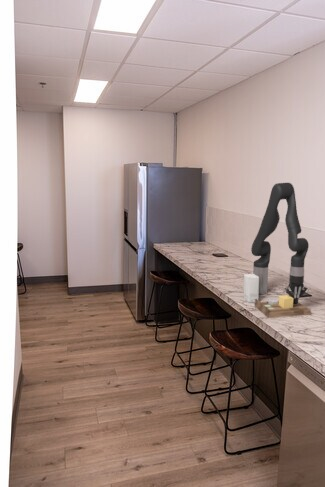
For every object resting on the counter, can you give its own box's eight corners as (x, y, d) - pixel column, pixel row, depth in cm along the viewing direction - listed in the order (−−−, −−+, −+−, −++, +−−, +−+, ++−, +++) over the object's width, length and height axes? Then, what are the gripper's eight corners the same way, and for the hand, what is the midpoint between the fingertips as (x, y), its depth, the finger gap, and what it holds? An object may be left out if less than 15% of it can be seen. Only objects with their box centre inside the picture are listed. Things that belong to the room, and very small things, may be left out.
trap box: (254, 306, 216) (255, 298, 215) (294, 304, 220) (295, 296, 219) (267, 317, 200) (268, 309, 199) (310, 314, 204) (311, 306, 203)
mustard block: (278, 304, 211) (279, 295, 210) (287, 304, 213) (288, 295, 211) (283, 308, 206) (284, 298, 205) (292, 307, 207) (293, 298, 206)
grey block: (267, 306, 216) (268, 299, 216) (274, 306, 217) (274, 299, 217) (271, 309, 213) (272, 302, 212) (277, 308, 214) (278, 301, 213)
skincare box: (258, 302, 223) (259, 277, 220) (247, 302, 222) (249, 277, 219) (252, 297, 231) (254, 273, 228) (242, 298, 230) (243, 273, 227)
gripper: (304, 271, 212) (302, 301, 215) (282, 272, 210) (280, 302, 213) (311, 275, 205) (309, 305, 208) (289, 276, 202) (287, 307, 206)
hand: (295, 303), depth 210 cm, fingers closed
